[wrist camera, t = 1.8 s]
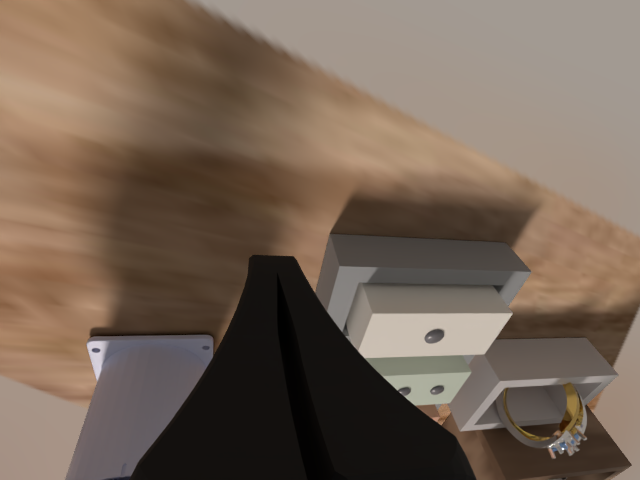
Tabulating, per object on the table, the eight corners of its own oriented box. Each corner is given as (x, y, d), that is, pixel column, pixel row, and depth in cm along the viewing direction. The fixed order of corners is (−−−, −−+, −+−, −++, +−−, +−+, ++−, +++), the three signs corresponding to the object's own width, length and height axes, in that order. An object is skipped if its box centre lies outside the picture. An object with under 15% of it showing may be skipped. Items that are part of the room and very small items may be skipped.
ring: (539, 341, 34) (604, 429, 28) (552, 353, 36) (617, 438, 30) (474, 380, 37) (522, 468, 31) (490, 389, 39) (537, 474, 32)
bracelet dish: (541, 385, 40) (566, 422, 37) (441, 391, 38) (459, 431, 34) (585, 337, 36) (618, 375, 33) (475, 339, 33) (499, 381, 30)
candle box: (514, 447, 50) (552, 518, 44) (418, 457, 47) (446, 535, 41) (574, 388, 42) (631, 465, 36) (464, 395, 39) (506, 481, 33)
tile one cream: (463, 319, 27) (485, 355, 25) (344, 320, 25) (355, 359, 23) (487, 279, 25) (514, 314, 23) (359, 275, 23) (373, 314, 20)
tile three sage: (434, 368, 31) (450, 404, 28) (327, 372, 29) (335, 412, 26) (452, 337, 28) (472, 373, 26) (338, 339, 26) (348, 378, 24)
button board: (415, 395, 37) (426, 426, 35) (288, 403, 34) (292, 436, 32) (505, 242, 26) (531, 271, 24) (329, 233, 23) (339, 266, 21)
